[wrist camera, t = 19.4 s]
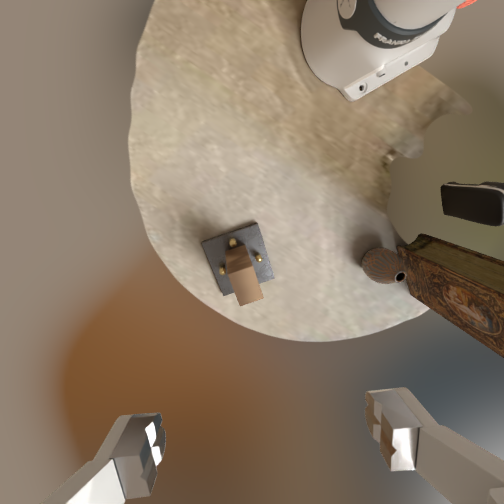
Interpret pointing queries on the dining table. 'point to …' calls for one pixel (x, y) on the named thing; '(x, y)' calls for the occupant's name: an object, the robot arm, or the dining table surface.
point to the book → (458, 286)
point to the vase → (384, 266)
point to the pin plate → (232, 240)
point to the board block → (242, 275)
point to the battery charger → (474, 202)
